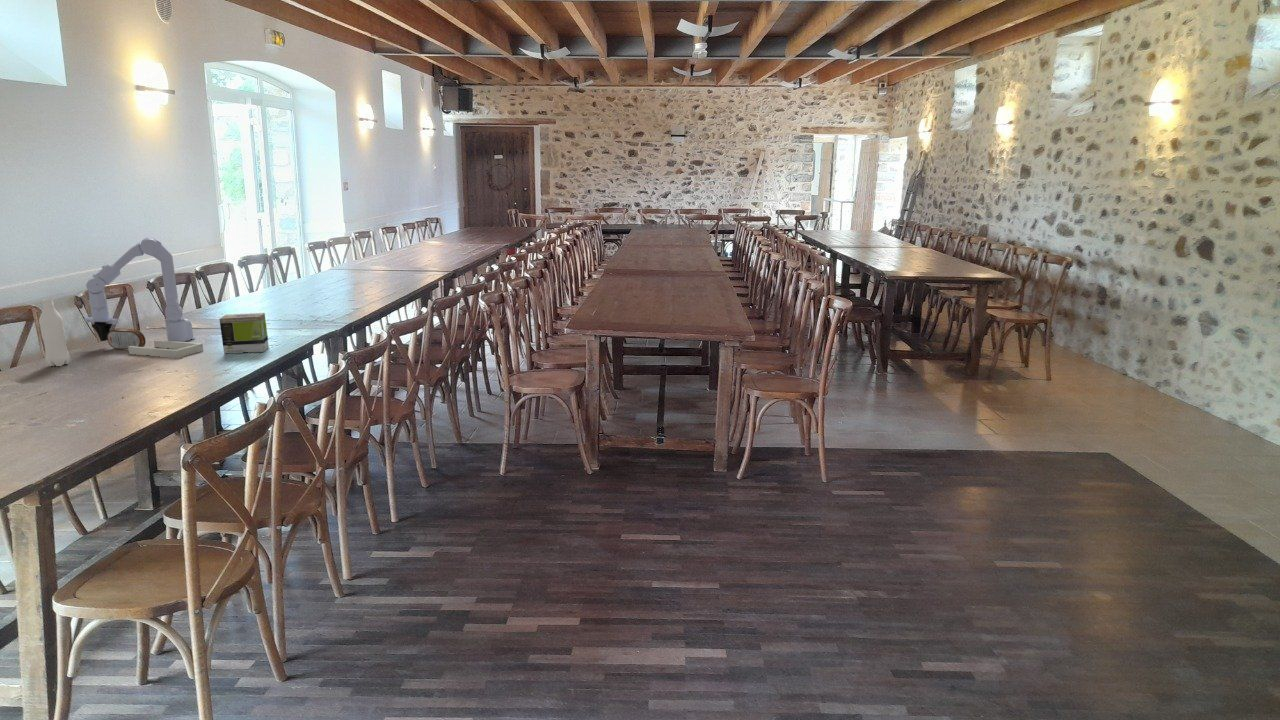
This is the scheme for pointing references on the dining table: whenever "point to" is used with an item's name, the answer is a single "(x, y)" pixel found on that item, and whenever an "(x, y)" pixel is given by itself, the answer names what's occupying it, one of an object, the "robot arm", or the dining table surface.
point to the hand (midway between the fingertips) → (104, 340)
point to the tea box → (244, 333)
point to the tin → (125, 338)
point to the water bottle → (53, 335)
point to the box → (182, 347)
